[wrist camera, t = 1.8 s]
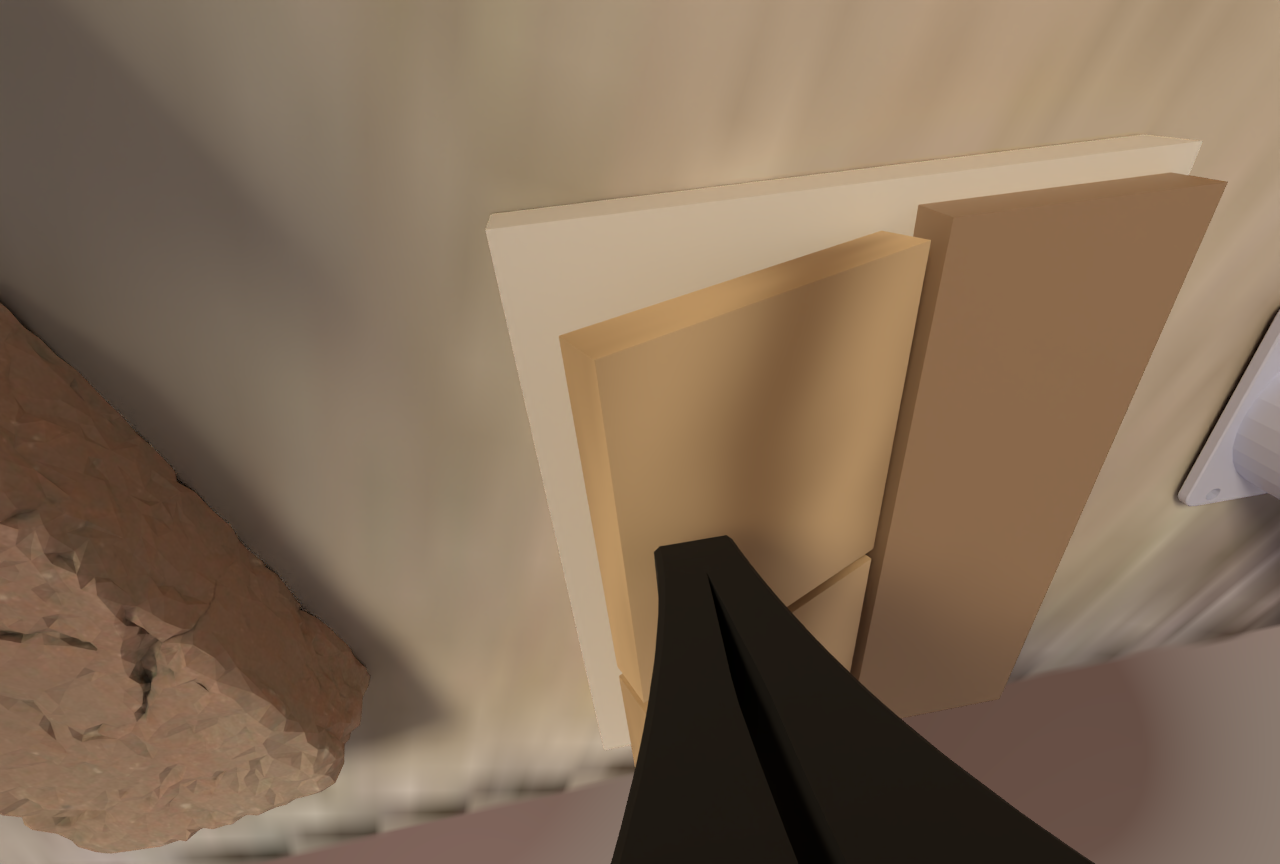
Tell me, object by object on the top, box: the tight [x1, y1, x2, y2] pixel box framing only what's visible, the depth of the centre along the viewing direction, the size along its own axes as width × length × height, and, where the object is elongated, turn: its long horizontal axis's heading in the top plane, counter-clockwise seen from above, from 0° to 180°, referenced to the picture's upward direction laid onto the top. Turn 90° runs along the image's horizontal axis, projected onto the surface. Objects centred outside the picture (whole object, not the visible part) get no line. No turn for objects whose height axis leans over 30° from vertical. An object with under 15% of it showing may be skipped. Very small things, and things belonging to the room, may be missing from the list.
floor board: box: [485, 134, 1228, 750], centre depth 18 cm, size 16×20×3 cm
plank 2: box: [619, 555, 871, 767], centre depth 18 cm, size 8×9×1 cm
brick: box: [0, 303, 370, 853], centre depth 15 cm, size 16×8×5 cm, turn 17°
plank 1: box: [559, 231, 931, 703], centre depth 13 cm, size 8×9×1 cm
